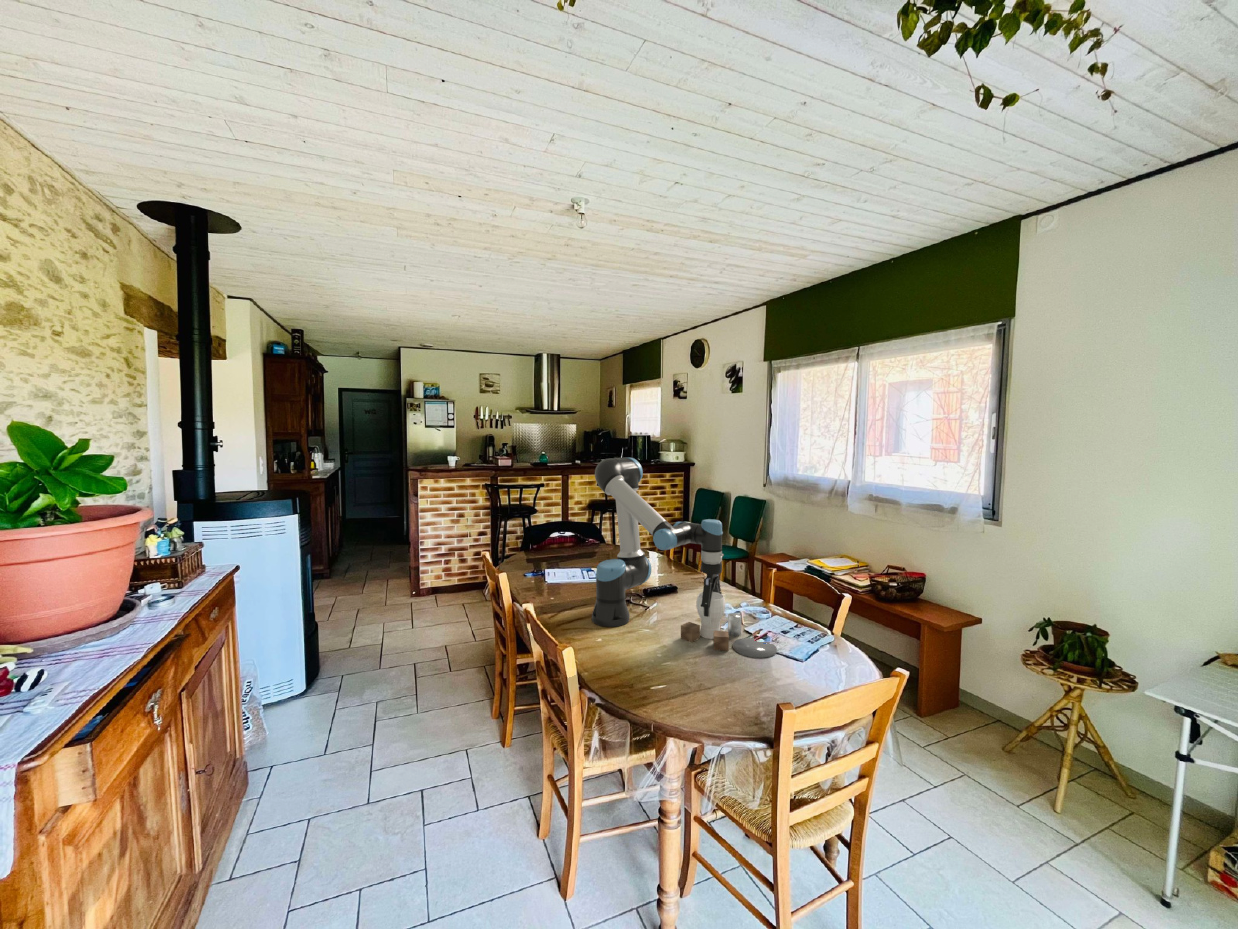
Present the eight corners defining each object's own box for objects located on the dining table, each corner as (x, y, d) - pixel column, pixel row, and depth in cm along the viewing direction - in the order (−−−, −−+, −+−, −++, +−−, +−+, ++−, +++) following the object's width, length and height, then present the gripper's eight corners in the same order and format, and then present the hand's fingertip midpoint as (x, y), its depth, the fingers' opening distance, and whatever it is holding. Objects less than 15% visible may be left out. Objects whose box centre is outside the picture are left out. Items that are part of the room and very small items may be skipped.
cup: (724, 642, 185) (725, 601, 183) (695, 639, 187) (695, 599, 186) (724, 630, 195) (725, 592, 194) (696, 628, 197) (697, 590, 196)
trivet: (728, 653, 176) (728, 651, 176) (737, 636, 189) (737, 635, 189) (774, 661, 170) (774, 659, 170) (779, 643, 183) (779, 642, 183)
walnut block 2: (713, 650, 178) (714, 636, 178) (713, 644, 183) (713, 630, 183) (728, 651, 177) (728, 637, 177) (727, 645, 182) (728, 631, 182)
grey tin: (726, 635, 191) (726, 616, 190) (729, 630, 196) (729, 612, 195) (739, 637, 189) (740, 618, 188) (742, 632, 194) (742, 614, 193)
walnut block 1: (680, 638, 188) (680, 625, 187) (688, 634, 191) (688, 621, 191) (691, 642, 184) (691, 629, 184) (699, 638, 188) (700, 625, 187)
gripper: (713, 571, 176) (713, 631, 177) (728, 555, 199) (728, 608, 200) (692, 569, 179) (692, 628, 180) (709, 553, 202) (709, 605, 203)
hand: (711, 618), depth 190 cm, fingers open, 13 cm apart
